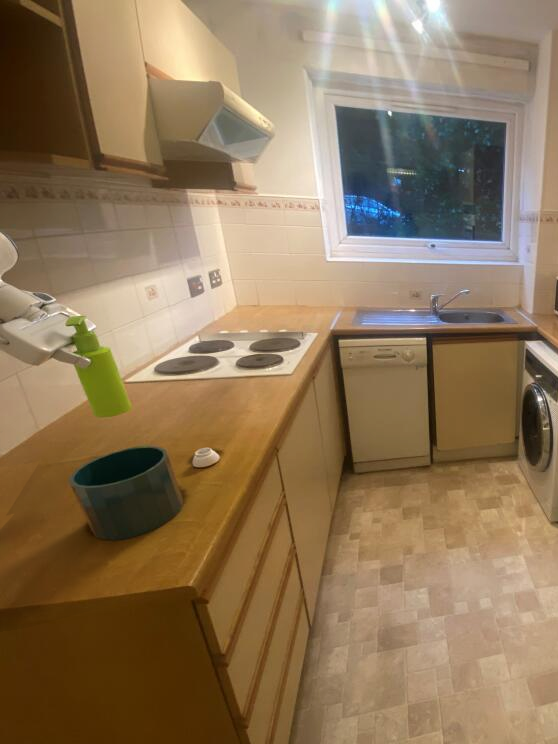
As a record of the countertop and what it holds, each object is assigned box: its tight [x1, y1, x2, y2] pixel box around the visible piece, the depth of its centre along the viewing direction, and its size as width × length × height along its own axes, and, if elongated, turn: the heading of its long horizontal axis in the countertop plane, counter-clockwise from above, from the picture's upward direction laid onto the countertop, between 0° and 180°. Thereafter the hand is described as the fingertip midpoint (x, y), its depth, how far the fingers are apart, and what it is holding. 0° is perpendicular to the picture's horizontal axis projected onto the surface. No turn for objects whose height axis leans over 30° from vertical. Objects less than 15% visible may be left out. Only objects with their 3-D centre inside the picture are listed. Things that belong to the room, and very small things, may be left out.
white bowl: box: [191, 447, 220, 468], centre depth 97 cm, size 5×3×5 cm
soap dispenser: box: [65, 315, 133, 418], centre depth 85 cm, size 6×7×20 cm
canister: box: [68, 445, 184, 542], centre depth 79 cm, size 13×13×11 cm
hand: (98, 359), depth 85 cm, fingers closed on soap dispenser, 6 cm apart
